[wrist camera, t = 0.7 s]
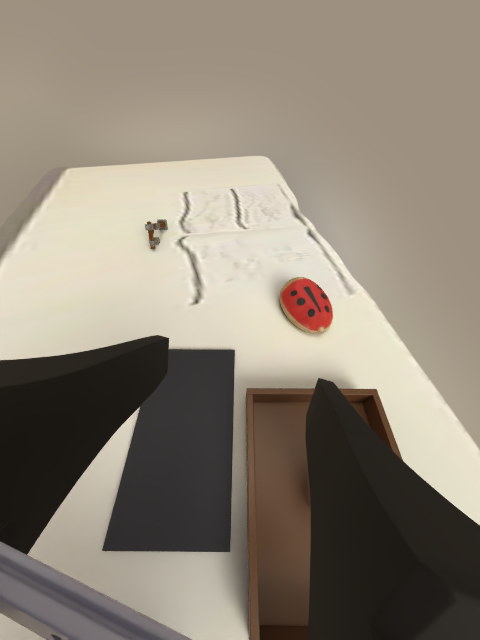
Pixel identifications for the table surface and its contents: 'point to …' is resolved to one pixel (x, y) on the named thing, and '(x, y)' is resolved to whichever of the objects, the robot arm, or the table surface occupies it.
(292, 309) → the ladybug figurine
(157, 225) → the wooden post with brackets
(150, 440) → the mouse pad
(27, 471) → the robot arm
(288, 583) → the tray
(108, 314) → the table surface
